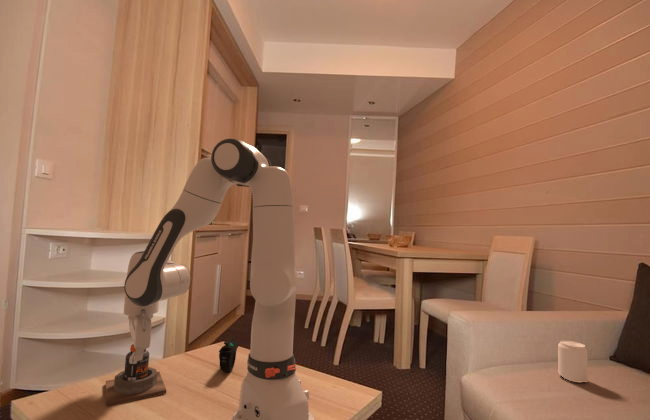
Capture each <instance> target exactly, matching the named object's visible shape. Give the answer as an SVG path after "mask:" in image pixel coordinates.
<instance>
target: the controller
mask: <svg viewBox="0 0 650 420" xmlns="http://www.w3.org/2000/svg"><path fill="white" fill-rule="evenodd" d="M223 344H224V345H223V346H222V347H221V348H220V349H219V351H218V353H219V354H218V358H219V369H220V371H221V372H223V373H229V372H231V371H233V369H234V366H235V362H236V358H237V350H238V348H239V345H240V343H239V340H233V339H230V340H227V341H224V342H223Z"/></svg>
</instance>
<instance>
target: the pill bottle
mask: <svg viewBox="0 0 650 420" xmlns="http://www.w3.org/2000/svg"><path fill="white" fill-rule="evenodd" d="M135 353H136V349H135V348H134V344H133V343H132V344H131V345H130V349H129V352H128V353H126V356H125V361H124V362H125V363H124V370H123V371H124V380H125V381H134V380H140V379H144V378H146V377H147V376H148V367H149V365H150V364H149V362H150V352H149V351H148V350H147V348H145V349H144V353H143V359H142V360H140V361H136V360H135Z"/></svg>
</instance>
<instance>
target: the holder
mask: <svg viewBox="0 0 650 420" xmlns="http://www.w3.org/2000/svg"><path fill="white" fill-rule="evenodd" d="M124 371H125V370H122V371H119V373H117V374H116V375H114V379H109V380H108V379H107V380H106V381H105V405H106V406H105V407H109V406H114V405H115V406H116V405H118V404H122V403H128V402H134V401H137V400H142V399H146V398H147V399H148V398H152V397H157V396H161V395H166V394H167V388H166V385H165V383H164V381H163V378H162V375H161V372H160V371H157V369H156V368H153V367H151V366H148V376H147V377H146V378H144V379H140V380H134V381H125V380H124Z"/></svg>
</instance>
